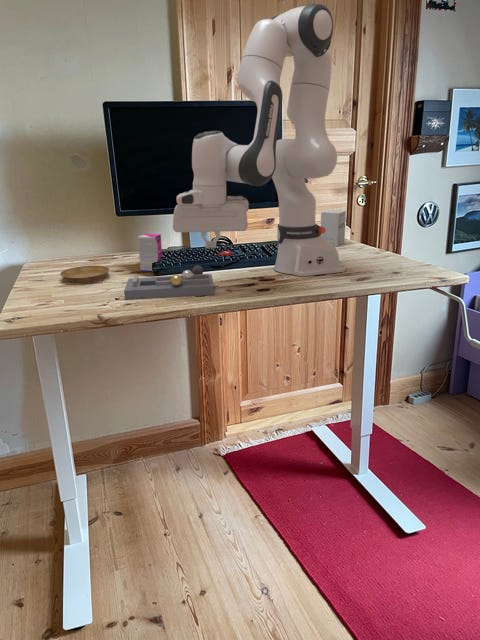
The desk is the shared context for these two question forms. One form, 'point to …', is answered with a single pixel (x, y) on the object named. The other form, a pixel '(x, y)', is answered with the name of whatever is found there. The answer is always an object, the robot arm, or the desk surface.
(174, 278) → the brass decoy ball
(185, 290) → the board
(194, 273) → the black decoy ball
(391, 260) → the desk surface
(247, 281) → the desk surface
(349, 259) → the desk surface
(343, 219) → the supplement box
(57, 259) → the desk surface
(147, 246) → the supplement box
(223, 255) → the race car
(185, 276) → the steel ball
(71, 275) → the plant saucer
